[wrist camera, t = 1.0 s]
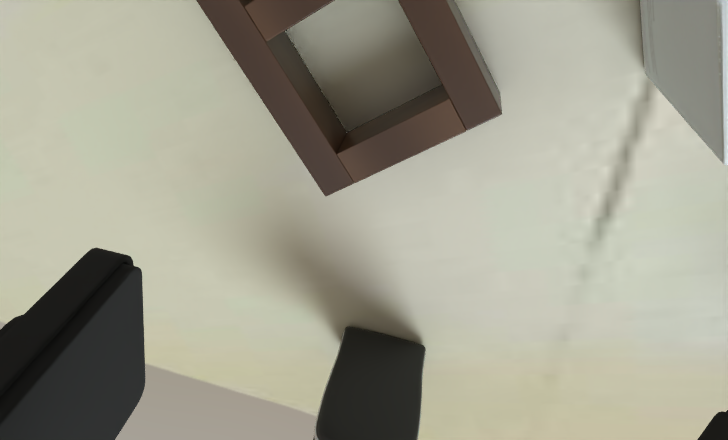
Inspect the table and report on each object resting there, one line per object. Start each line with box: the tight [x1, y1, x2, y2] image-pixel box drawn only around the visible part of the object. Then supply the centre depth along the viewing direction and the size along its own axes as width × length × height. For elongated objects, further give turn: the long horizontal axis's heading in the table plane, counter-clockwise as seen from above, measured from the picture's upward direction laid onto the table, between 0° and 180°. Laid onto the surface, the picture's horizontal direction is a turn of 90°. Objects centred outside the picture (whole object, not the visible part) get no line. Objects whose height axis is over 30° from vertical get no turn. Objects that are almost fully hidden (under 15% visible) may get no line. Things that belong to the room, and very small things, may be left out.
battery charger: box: [313, 327, 426, 440], centre depth 43 cm, size 7×4×11 cm, turn 80°
